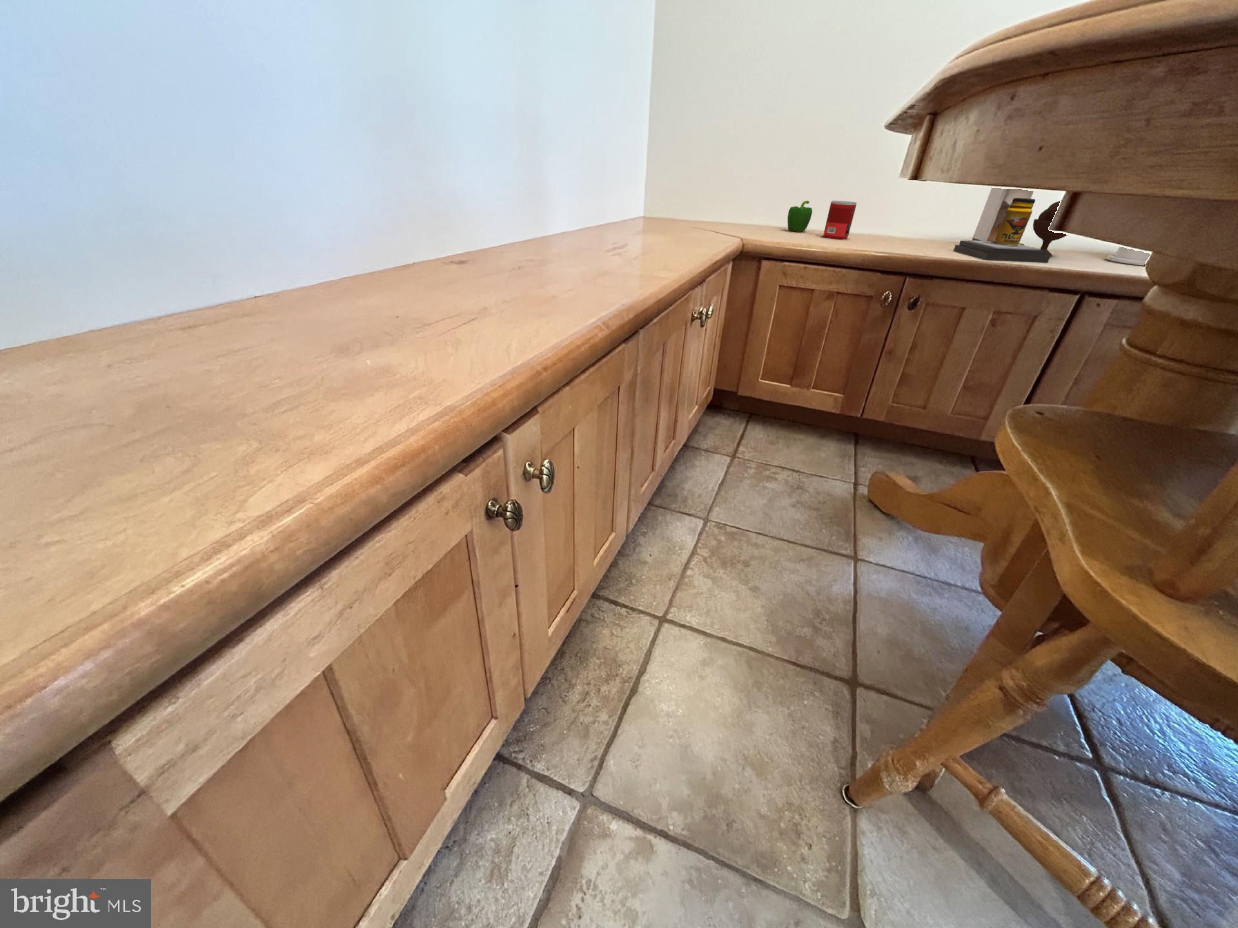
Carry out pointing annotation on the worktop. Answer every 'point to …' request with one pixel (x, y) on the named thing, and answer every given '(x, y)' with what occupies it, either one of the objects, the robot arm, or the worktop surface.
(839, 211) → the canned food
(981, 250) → the scale
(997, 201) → the display case
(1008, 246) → the scale pan
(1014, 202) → the condiment
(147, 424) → the worktop surface
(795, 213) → the bell pepper
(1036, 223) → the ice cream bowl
